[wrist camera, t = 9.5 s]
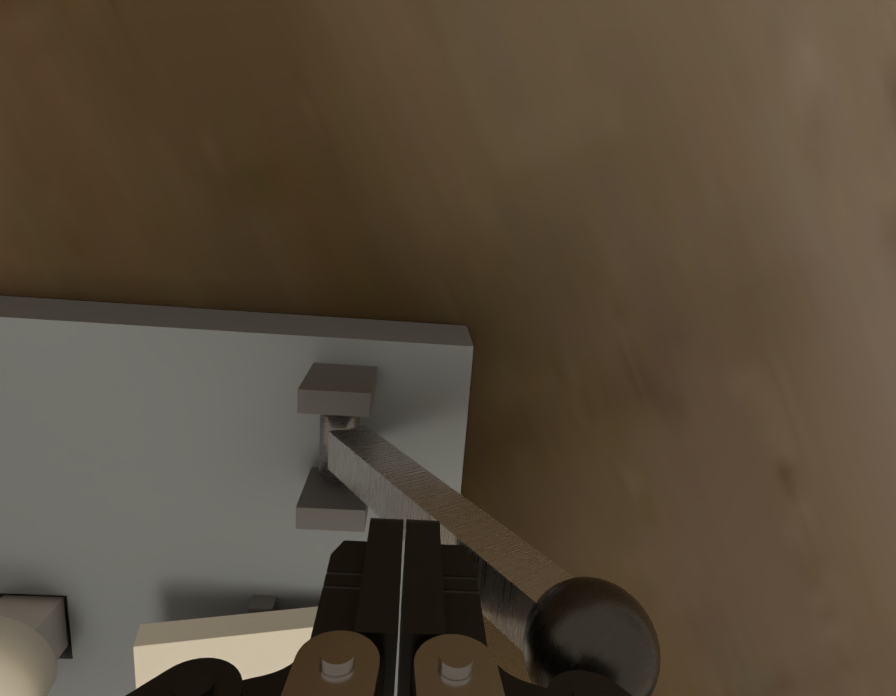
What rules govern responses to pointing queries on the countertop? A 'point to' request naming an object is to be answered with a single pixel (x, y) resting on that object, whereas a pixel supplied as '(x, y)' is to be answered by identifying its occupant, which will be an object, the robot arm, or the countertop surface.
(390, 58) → the countertop surface
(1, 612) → the button
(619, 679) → the lever
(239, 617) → the block
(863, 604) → the countertop surface
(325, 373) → the panel
